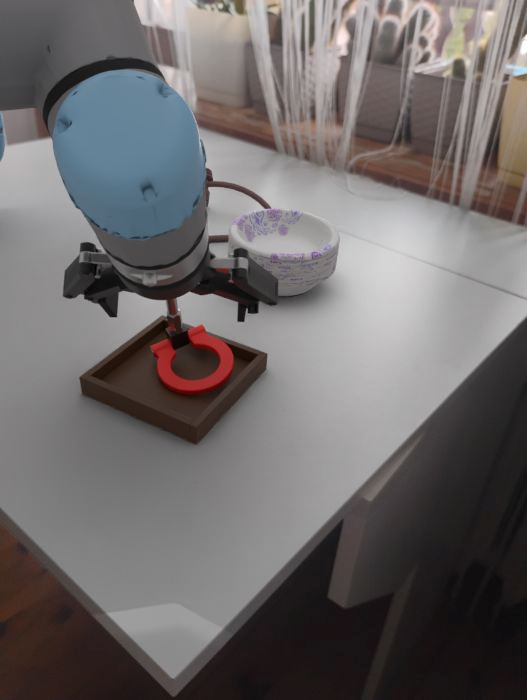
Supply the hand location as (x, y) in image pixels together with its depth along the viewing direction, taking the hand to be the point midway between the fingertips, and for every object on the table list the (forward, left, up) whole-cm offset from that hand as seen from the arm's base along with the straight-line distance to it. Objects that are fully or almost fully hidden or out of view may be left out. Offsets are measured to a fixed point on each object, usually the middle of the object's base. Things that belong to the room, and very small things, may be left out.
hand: (178, 307), depth 67 cm
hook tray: (+1, -2, -8) cm, 8 cm away
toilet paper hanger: (-19, +36, -8) cm, 41 cm away
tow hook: (+2, 0, -7) cm, 7 cm away
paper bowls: (0, +25, -8) cm, 26 cm away
